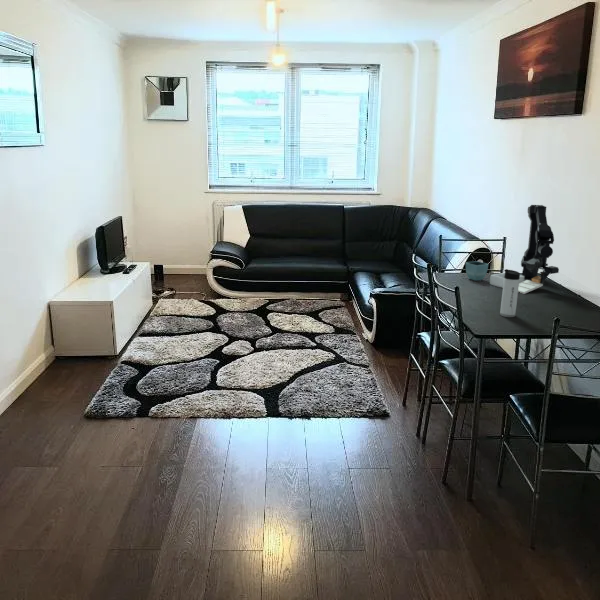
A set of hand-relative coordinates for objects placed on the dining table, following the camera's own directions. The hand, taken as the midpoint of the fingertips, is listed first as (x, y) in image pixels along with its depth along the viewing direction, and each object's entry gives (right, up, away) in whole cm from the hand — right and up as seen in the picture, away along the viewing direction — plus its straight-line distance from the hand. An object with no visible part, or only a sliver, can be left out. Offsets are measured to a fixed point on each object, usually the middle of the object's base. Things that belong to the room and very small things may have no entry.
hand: (537, 283), depth 315 cm
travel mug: (-31, -15, -47) cm, 58 cm away
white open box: (-14, -1, +6) cm, 15 cm away
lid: (-6, -2, -3) cm, 7 cm away
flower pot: (-27, +2, +16) cm, 32 cm away
